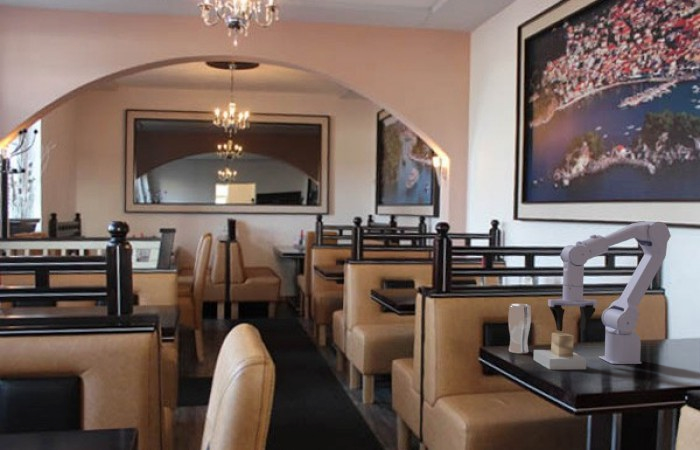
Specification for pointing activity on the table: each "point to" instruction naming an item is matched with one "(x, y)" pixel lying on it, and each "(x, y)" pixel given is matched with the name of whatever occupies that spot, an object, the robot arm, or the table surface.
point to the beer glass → (519, 327)
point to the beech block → (562, 344)
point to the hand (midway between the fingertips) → (571, 330)
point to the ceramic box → (559, 360)
